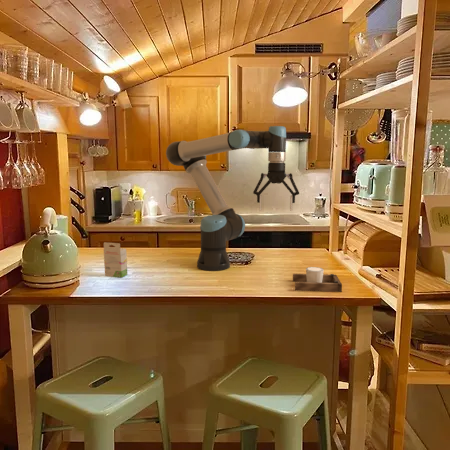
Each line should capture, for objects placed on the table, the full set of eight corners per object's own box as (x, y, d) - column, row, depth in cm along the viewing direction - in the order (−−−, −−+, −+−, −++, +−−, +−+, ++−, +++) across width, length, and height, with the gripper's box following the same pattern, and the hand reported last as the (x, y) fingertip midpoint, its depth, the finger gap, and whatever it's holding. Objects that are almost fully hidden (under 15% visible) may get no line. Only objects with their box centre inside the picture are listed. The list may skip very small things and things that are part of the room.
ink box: (128, 274, 183) (126, 241, 181) (121, 278, 179) (120, 243, 176) (110, 272, 186) (109, 239, 184) (104, 276, 181) (102, 242, 179)
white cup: (303, 283, 172) (303, 266, 171) (319, 283, 172) (320, 266, 171) (308, 288, 165) (308, 271, 164) (325, 288, 166) (326, 271, 164)
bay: (295, 290, 163) (295, 281, 162) (292, 280, 176) (292, 272, 175) (341, 291, 161) (342, 282, 161) (335, 281, 174) (336, 273, 174)
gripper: (248, 162, 184) (247, 210, 187) (306, 162, 182) (304, 211, 185) (248, 161, 191) (248, 208, 195) (304, 162, 189) (303, 209, 193)
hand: (275, 210), depth 190 cm, fingers open, 13 cm apart
